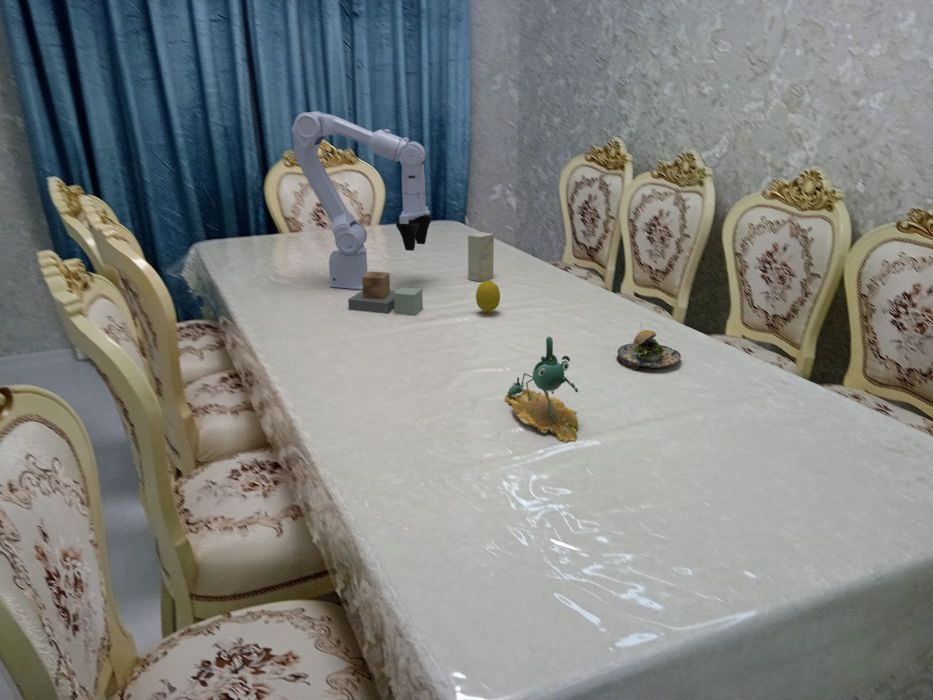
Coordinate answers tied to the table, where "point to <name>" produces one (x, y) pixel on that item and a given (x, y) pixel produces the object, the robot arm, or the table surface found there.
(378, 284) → the walnut cube
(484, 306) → the lemon
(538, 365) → the green creature figurine
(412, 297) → the sage cube
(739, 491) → the table surface
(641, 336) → the burger
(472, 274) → the skincare box
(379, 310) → the charcoal block
